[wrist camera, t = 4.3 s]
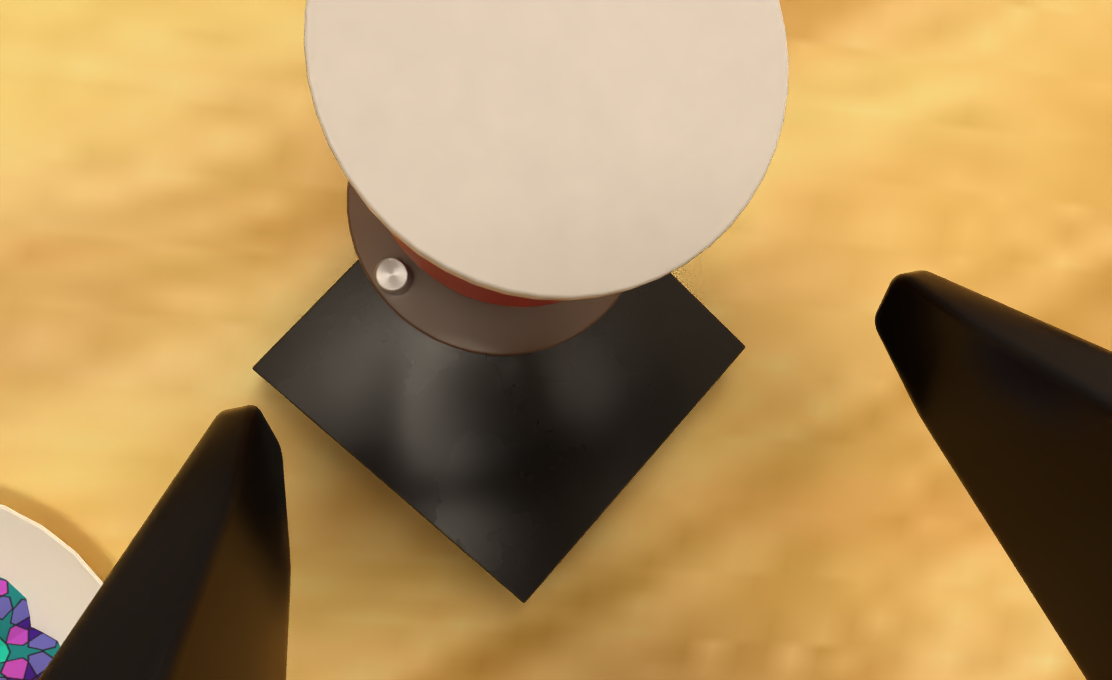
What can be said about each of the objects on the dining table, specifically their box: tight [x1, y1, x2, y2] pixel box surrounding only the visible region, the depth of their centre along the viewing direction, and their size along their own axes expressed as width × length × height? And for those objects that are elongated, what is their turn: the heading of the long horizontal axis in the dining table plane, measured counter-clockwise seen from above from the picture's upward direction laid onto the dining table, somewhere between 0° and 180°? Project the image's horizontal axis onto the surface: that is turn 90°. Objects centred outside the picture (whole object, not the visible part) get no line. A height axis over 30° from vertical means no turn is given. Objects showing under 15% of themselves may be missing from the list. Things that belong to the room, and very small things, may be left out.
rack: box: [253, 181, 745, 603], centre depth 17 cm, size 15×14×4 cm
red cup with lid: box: [304, 0, 789, 307], centre depth 12 cm, size 6×6×9 cm
